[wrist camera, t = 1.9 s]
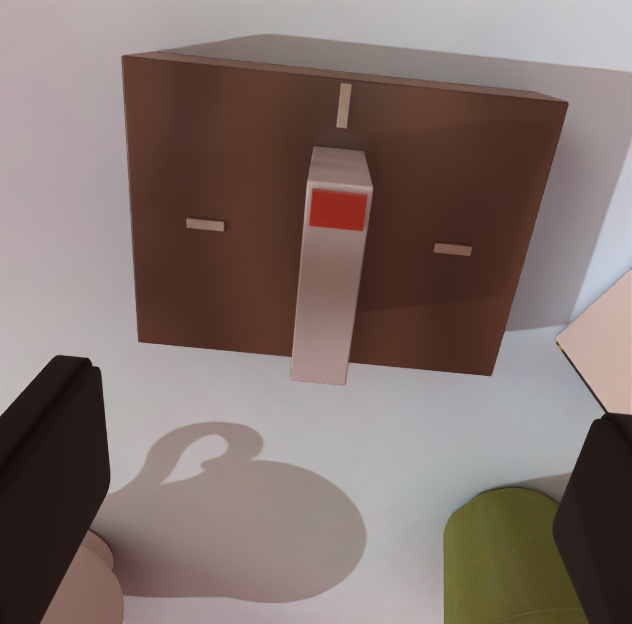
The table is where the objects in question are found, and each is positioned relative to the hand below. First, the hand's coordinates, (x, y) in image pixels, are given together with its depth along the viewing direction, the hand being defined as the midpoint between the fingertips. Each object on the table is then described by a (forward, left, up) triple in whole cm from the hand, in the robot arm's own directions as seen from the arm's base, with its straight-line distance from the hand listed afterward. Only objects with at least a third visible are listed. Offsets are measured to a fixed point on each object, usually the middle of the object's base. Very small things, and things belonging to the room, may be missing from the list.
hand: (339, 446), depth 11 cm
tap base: (0, 0, -15) cm, 15 cm away
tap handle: (0, 0, -12) cm, 12 cm away
